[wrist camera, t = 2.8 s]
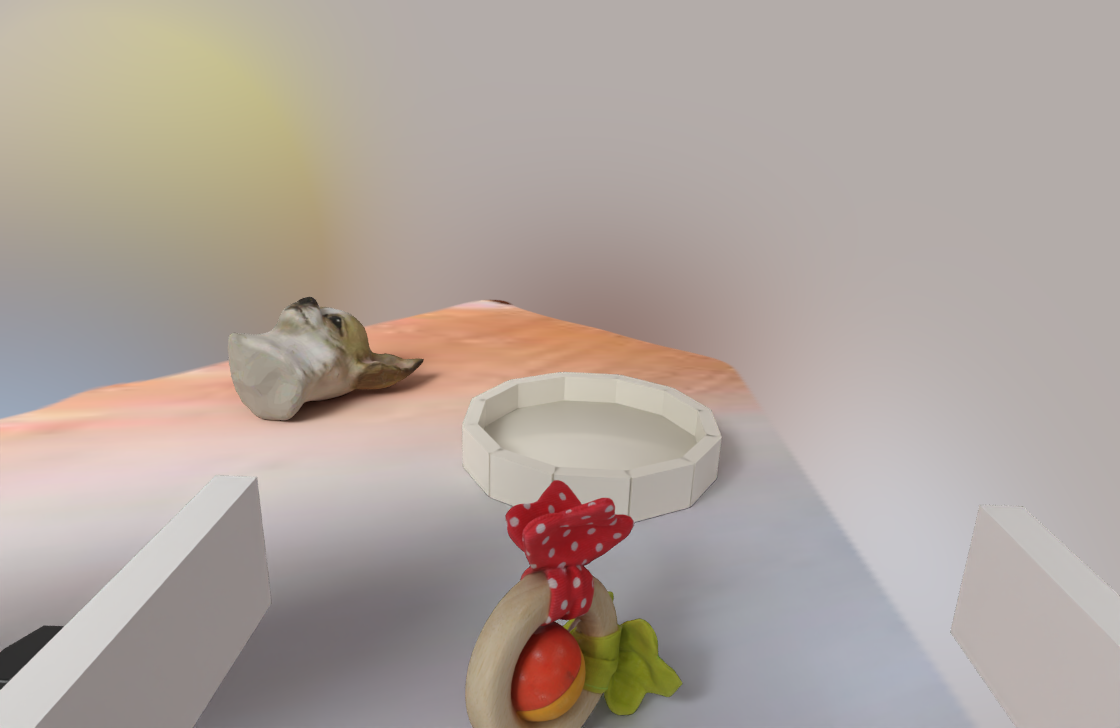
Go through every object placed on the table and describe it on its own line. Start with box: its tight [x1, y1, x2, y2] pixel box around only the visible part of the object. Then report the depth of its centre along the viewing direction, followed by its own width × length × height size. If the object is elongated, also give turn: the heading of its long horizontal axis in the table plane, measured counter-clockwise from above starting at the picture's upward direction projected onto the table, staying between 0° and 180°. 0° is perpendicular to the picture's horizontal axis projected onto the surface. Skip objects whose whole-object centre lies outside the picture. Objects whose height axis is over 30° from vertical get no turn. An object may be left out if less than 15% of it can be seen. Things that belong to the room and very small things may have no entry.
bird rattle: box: [465, 480, 682, 728], centre depth 28 cm, size 6×11×9 cm
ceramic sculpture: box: [228, 297, 423, 420], centre depth 59 cm, size 11×9×15 cm
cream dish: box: [462, 372, 722, 522], centre depth 52 cm, size 17×17×3 cm
